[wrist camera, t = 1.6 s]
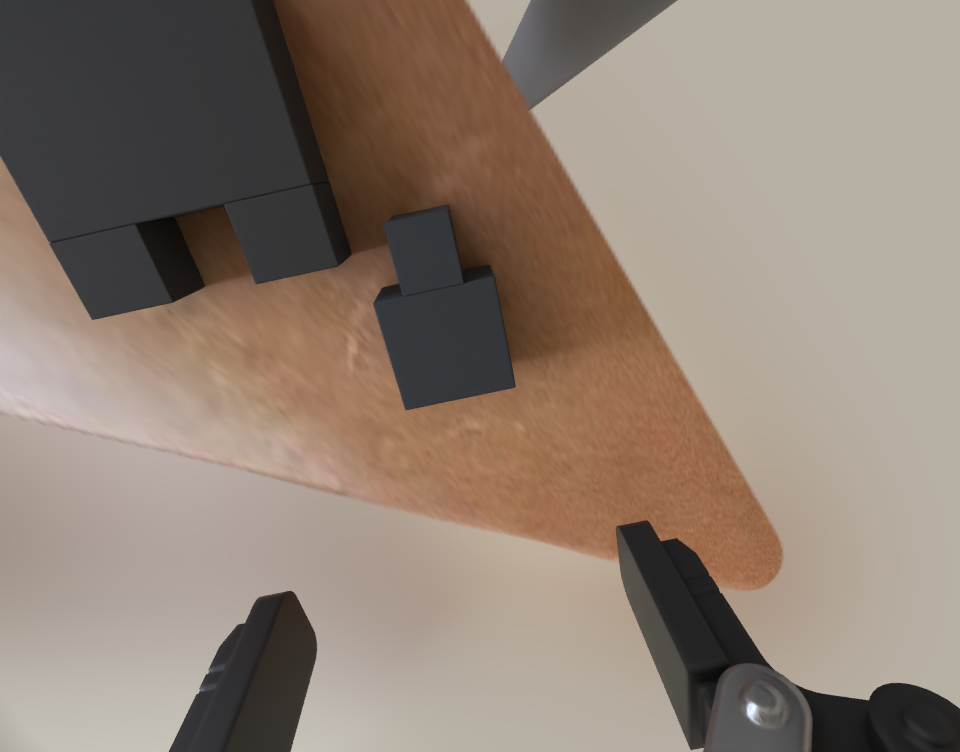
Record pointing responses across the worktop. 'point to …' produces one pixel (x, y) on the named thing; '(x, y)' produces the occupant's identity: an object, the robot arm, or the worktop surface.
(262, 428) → the worktop surface
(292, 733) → the robot arm
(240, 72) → the base pad
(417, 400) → the pad
